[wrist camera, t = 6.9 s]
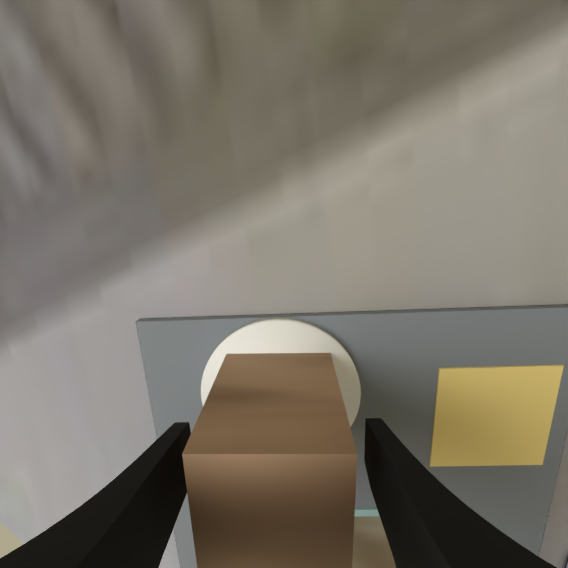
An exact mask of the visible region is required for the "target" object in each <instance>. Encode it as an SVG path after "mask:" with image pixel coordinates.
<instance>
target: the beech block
mask: <svg viewBox="0 0 568 568" xmlns="http://www.w3.org/2000/svg"><path fill="white" fill-rule="evenodd" d="M352 568H396V565H395V562H394V558H393V555H392V552H391V549H390V546H389V543H388V540H387V537H386V534H385V531H384V528H383V525H382V522H381V519H380V516H354V537H353V558H352Z"/></svg>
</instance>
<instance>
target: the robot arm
mask: <svg viewBox="0 0 568 568" xmlns="http://www.w3.org/2000/svg"><path fill="white" fill-rule="evenodd" d="M190 435H191V431H190V424H189V422H175V423H174V424H173V425H171V426H170V427H169V428H168V429H167V430H166V431H165V432H164V433H163V434H162V435H161V436H160V437H159V438H158V439H157V440H156V441H155V442H154V443H153V444H152V445H151V446H150V447H149V448H148V449H147V450H146V451H145V452H144V453H143V454H142V455H141V456H139V457H138V458H137V459H136V460H135V461H134V462H133V463H132V464H131V465H130V466H129V467H127V468H126V469H125V470H124V471H123V472H122V473H121V474H120V475H118V476H117V477H116V478H115V479H114V480H113V481H112V482H110V483H109V484H108V485H107V486H106V487H104V488H103V489H102V490H101V491H99V492H98V493H97V494H96V495H94V496H93V497H92V498H91V499H89V500H88V501H87V502H85V503H84V504H83V505H81V506H80V507H79V508H77V509H76V510H75V511H73V512H72V513H70V514H69V515H67V516H66V517H64V518H63V519H62V520H60V521H59V522H57V523H56V524H54V525H53V526H51V527H50V528H49V529H47V530H46V531H44V532H43V533H41V534H40V535H38V536H36V537H35V538H33V539H32V540H30V541H28V542H27V543H25V544H24V545H22V546H20V547H19V548H17V549H15V550H14V551H12V552H11V553H9V554H7V555H6V556H4V557H2V558H0V568H158V567H159V564H160V561H161V559H162V556H163V553H164V551H165V548H166V546H167V543H168V540H169V538H170V535H171V533H172V530H173V528H174V525H175V523H176V520H177V517H178V515H179V512H180V510H181V507H182V505H183V502H184V499H185V497H186V494H187V487H186V480H185V472H184V465H183V457H182V453H183V451H184V449H185V446H186V444H187V442H188V440H189V437H190ZM364 461H365V466H366V471H367V475H368V480H369V484H370V488H371V491H372V494H373V498H374V501H375V504H376V507H377V510H378V513H379V516H380V519H381V522H382V525H383V528H384V531H385V534H386V537H387V540H388V543H389V546H390V549H391V552H392V555H393V558H394V562H395V565H396V568H556V567H555V566H553V565H551V564H550V563H548V562H546V561H545V560H543V559H541V558H540V557H538V556H537V555H535V554H534V553H532V552H531V551H529V550H528V549H526V548H525V547H523V546H522V545H520V544H519V543H517V542H516V541H514V540H513V539H511V538H510V537H509V536H507V535H506V534H504V533H503V532H501V531H500V530H499V529H497V528H496V527H495V526H493V525H492V524H491V523H489V522H488V521H487V520H485V519H484V518H483V517H481V516H480V515H479V514H477V513H476V512H475V511H474V510H472V509H471V508H470V507H468V506H467V505H466V504H465V503H464V502H462V501H461V500H460V499H459V498H458V497H457V496H455V495H454V494H453V493H452V492H451V491H450V490H448V489H447V488H446V487H445V486H444V485H443V484H442V483H441V482H440V481H439V480H438V479H437V478H436V477H435V476H434V475H432V474H431V473H430V472H429V471H428V470H427V469H426V468H425V467H424V466H423V465H422V464H421V463H420V461H419V460H418V459H417V458H416V457H415V456H414V455H413V454H412V453H411V452H410V451H409V450H408V449H407V448H406V446H405V445H404V444H403V443H402V442H401V441H400V440H399V438H398V437H397V436H396V435H395V434H394V433H393V432H392V430H391V429H390V428H389V427H388V426H387V424H386V423H385V422H384V421H383V420H382V419H381V418H365V451H364ZM566 568H568V563H567V567H566Z"/></svg>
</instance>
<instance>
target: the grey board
mask: <svg viewBox="0 0 568 568" xmlns="http://www.w3.org/2000/svg"><path fill="white" fill-rule="evenodd" d="M273 317H288V318H295V319H300V320H303V321H307V322H310V323H312V324H315V325H317V326H319V327H321V328H322V329H324V330H326V331H327V332H329V333H330V334H331V335H333V336H334V337H335V338H336V339H337V340H338V341H339V342H340V343H341V344H342V345H343V346H344V348H345V349H346V350H347V352H348V353H349V355H350V357H351V359H352V360H353V363H354V365H355V368H356V371H357V373H358V376H359V381H360V388H361V398H360V405H359V409H358V413H357V415H356V418H355V420H354V422H353V424H352V426H351V427H350V428H351V432H352V436H353V439H354V443H355V447H356V450H357V475H356V495H355V516H379V513H378V510H377V507H376V504H375V501H374V498H373V494H372V491H371V488H370V484H369V480H368V475H367V471H366V466H365V461H364V451H365V418H381V419H382V420H383V421H384V422H385V423H386V424H387V426H388V427H389V428H390V429H391V430H392V432H393V433H394V434H395V435H396V436H397V437H398V438H399V440H400V441H401V442H402V443H403V444H404V445H405V446H406V448H407V449H408V450H409V451H410V452H411V453H412V454H413V455H414V456H415V457H416V458H417V459H418V460H419V461H420V463H421V464H422V465H423V466H424V467H425V468H426V469H427V470H428V471H429V472H430V473H431V474H432V475H434V476H435V477H436V478H437V479H438V480H439V481H440V482H441V483H442V484H443V485H444V486H445V487H446V488H447V489H448V490H450V491H451V492H452V493H453V494H454V495H455V496H457V497H458V498H459V499H460V500H461V501H462V502H464V503H465V504H466V505H467V506H468V507H470V508H471V509H472V510H474V511H475V512H476V513H477V514H479V515H480V516H481V517H483V518H484V519H485V520H487V521H488V522H489V523H491V524H492V525H493V526H495V527H496V528H497V529H499V530H500V531H501V532H503V533H504V534H506V535H507V536H509V537H510V538H511V539H513V540H514V541H516V542H517V543H519V544H520V545H522V546H523V547H525V548H526V549H528V550H529V551H531V552H532V553H534V554H535V555H537V556H538V555H539V551H540V547H541V542H542V538H543V534H544V530H545V525H546V521H547V517H548V512H549V508H550V504H551V499H552V495H553V491H554V486H555V482H556V478H557V474H558V469H559V465H560V461H561V456H562V452H563V448H564V443H565V439H566V435H567V431H568V304H566V305H537V306H507V307H477V308H448V309H418V310H388V311H359V312H329V313H299V314H270V315H240V316H210V317H181V318H151V319H139V320H137V321H136V327H137V333H138V338H139V344H140V349H141V355H142V360H143V365H144V371H145V376H146V382H147V387H148V393H149V398H150V404H151V409H152V415H153V420H154V426H155V431H156V437H157V439H158V438H159V437H160V436H161V435H162V434H163V433H164V432H165V431H166V430H167V429H168V428H169V427H170V426H171V425H173V424H174V423H175V422H189V424H190V431H191V433H192V431H193V428H194V426H195V424H196V421H197V419H198V417H199V415H200V412H201V410H202V408H203V404H202V399H201V381H202V377H203V372H204V370H205V367H206V365H207V362H208V360H209V359H210V357H211V355H212V353H213V352H214V350H215V348H216V347H217V346H218V345H219V343H220V342H221V341H222V340H223V339H224V338H225V337H226V336H228V335H229V334H230V333H231V332H233V331H234V330H236V329H237V328H239V327H241V326H243V325H245V324H247V323H250V322H253V321H256V320H260V319H265V318H273ZM173 530H174V535H175V541H176V546H177V552H178V557H179V563H180V568H197V562H196V555H195V547H194V540H193V532H192V525H191V517H190V510H189V502H188V495H187V494H186V497H185V499H184V502H183V505H182V507H181V510H180V512H179V515H178V517H177V520H176V523H175V525H174V528H173Z"/></svg>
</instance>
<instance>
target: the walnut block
mask: <svg viewBox="0 0 568 568" xmlns="http://www.w3.org/2000/svg"><path fill="white" fill-rule="evenodd" d="M182 457H183V465H184V472H185V480H186V487H187V495H188V502H189V510H190V517H191V525H192V532H193V540H194V547H195V555H196V562H197V568H352V558H353V537H354V516H355V495H356V475H357V450H356V447H355V443H354V439H353V436H352V432H351V428H350V424H349V421H348V417H347V413H346V409H345V406H344V402H343V398H342V394H341V391H340V387H339V383H338V379H337V376H336V372H335V368H334V364H333V361H332V357H331V353H250V354H226V356H225V358H224V360H223V363H222V365H221V367H220V369H219V372H218V374H217V376H216V378H215V381H214V383H213V385H212V387H211V390H210V392H209V394H208V397H207V399H206V401H205V403H204V406H203V408H202V410H201V412H200V415H199V417H198V419H197V421H196V424H195V426H194V428H193V431H192V433H191V435H190V437H189V440H188V442H187V444H186V446H185V449H184V451H183V453H182Z"/></svg>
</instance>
